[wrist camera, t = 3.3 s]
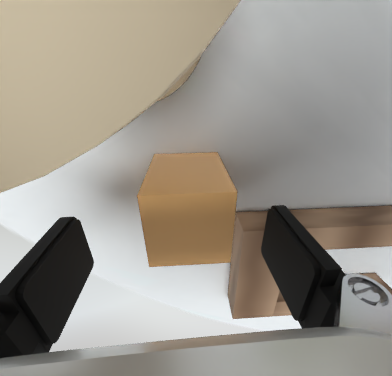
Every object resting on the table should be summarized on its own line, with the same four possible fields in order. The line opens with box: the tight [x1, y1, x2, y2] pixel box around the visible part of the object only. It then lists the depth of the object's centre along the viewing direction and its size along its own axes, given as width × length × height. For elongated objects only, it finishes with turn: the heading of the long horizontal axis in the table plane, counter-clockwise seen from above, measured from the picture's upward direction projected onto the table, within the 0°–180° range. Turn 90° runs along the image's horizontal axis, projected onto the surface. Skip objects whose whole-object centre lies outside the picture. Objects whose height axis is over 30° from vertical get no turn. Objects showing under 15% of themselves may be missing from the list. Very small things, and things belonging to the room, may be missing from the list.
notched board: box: [228, 205, 392, 319], centre depth 18 cm, size 16×11×2 cm
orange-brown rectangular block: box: [137, 152, 237, 267], centre depth 13 cm, size 4×4×6 cm
